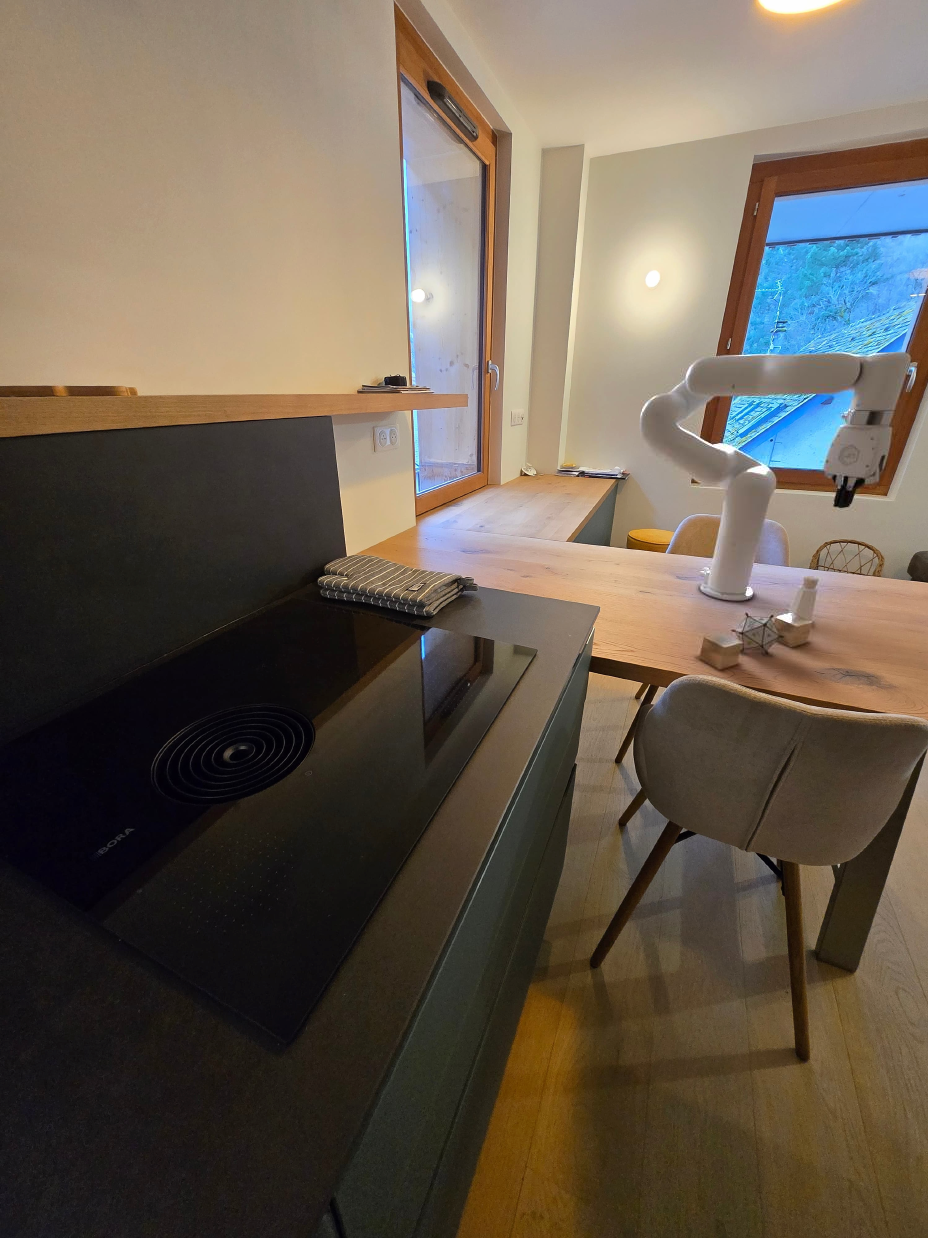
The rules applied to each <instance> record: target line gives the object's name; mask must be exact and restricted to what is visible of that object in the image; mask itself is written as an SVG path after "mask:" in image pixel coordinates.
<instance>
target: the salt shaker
mask: <svg viewBox="0 0 928 1238" xmlns="http://www.w3.org/2000/svg"><path fill="white" fill-rule="evenodd" d="M819 581H820V580H819V578H818V577H816V576H810V575H806V576H804V577H803V580H802V584H801V585H799V586H798V588H797V590H796V592H795V595H794V598H793V599H792V601H791V604H790V607H789V609H788V611H787V613H786V614H789V613H792V614H795V615H797V616H800V617H802V618H805V619H807V620H810V621H812V620H813V619H812V618H813V613H814V610H815V609H814V608H815V603H816V599H817V593H818V588H817V585H818V582H819Z"/></svg>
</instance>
